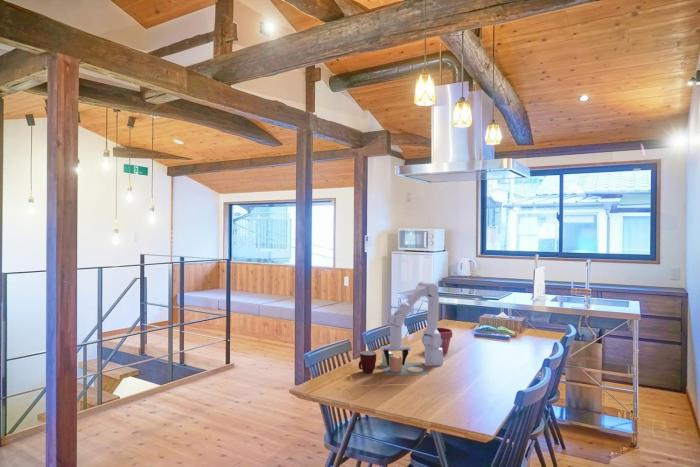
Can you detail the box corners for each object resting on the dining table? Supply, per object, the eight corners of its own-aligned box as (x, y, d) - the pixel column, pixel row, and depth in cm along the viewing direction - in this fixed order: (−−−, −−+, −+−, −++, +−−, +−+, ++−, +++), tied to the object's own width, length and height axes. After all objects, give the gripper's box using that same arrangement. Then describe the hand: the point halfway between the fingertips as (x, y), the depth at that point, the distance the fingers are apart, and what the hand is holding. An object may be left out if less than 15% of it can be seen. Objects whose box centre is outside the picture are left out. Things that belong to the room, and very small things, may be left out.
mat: (420, 363, 242) (420, 362, 242) (429, 375, 222) (429, 374, 222) (379, 364, 241) (379, 362, 241) (384, 376, 221) (384, 375, 221)
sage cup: (391, 363, 240) (391, 351, 240) (393, 366, 235) (393, 353, 235) (381, 363, 240) (381, 351, 240) (382, 366, 234) (382, 354, 234)
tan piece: (400, 368, 232) (400, 355, 232) (402, 371, 226) (402, 358, 226) (389, 368, 231) (389, 355, 231) (391, 371, 226) (391, 358, 226)
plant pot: (450, 348, 273) (450, 327, 273) (453, 355, 259) (453, 332, 259) (426, 347, 274) (426, 326, 274) (428, 354, 260) (428, 332, 260)
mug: (367, 377, 218) (367, 357, 218) (353, 374, 223) (354, 354, 223) (379, 372, 226) (379, 352, 226) (366, 369, 231) (366, 350, 231)
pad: (421, 367, 233) (421, 366, 233) (424, 372, 225) (424, 371, 225) (406, 367, 233) (406, 366, 233) (408, 372, 225) (408, 371, 225)
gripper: (382, 340, 224) (382, 367, 224) (411, 339, 225) (411, 367, 225) (380, 336, 231) (380, 363, 231) (408, 336, 232) (408, 362, 232)
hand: (395, 364), depth 229 cm, fingers open, 7 cm apart
